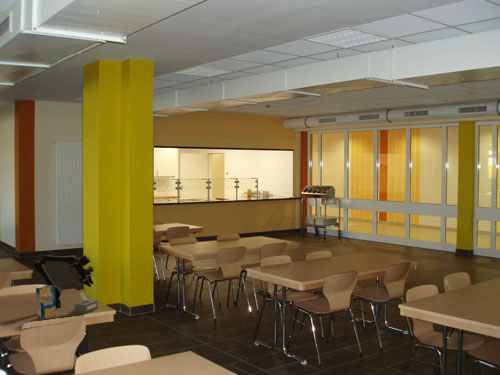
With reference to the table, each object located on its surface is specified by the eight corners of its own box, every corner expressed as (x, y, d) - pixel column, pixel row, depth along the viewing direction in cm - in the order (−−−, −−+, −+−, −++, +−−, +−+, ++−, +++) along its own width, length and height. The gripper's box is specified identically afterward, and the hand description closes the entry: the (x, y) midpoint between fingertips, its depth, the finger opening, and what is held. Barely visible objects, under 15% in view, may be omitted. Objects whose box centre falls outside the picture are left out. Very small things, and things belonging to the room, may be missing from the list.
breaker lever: (82, 301, 394) (77, 291, 395) (85, 300, 397) (80, 290, 398) (84, 300, 393) (79, 290, 394) (88, 299, 396) (83, 289, 397)
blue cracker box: (37, 317, 379) (35, 287, 378) (52, 314, 386) (50, 284, 385) (41, 319, 374) (39, 289, 373) (56, 316, 381) (54, 286, 380)
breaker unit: (74, 312, 390) (74, 303, 390) (87, 307, 403) (86, 299, 403) (85, 313, 386) (85, 304, 386) (97, 308, 399) (97, 300, 399)
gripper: (85, 265, 398) (98, 281, 400) (90, 261, 417) (102, 276, 418) (73, 274, 398) (86, 290, 399) (79, 269, 416) (91, 285, 418)
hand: (92, 285), depth 409 cm, fingers open, 9 cm apart
